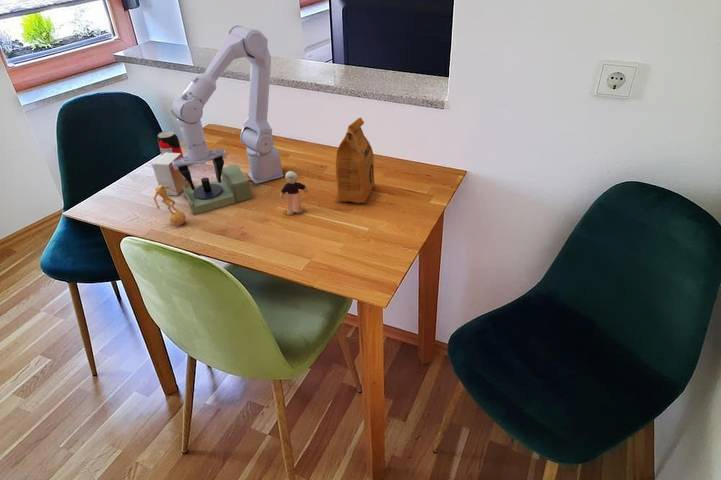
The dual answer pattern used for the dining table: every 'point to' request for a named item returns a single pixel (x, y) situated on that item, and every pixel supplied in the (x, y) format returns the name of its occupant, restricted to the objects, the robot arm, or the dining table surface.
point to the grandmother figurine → (293, 193)
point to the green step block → (232, 192)
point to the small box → (169, 173)
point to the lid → (207, 190)
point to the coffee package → (354, 165)
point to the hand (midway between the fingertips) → (206, 185)
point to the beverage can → (169, 142)
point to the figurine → (175, 216)
